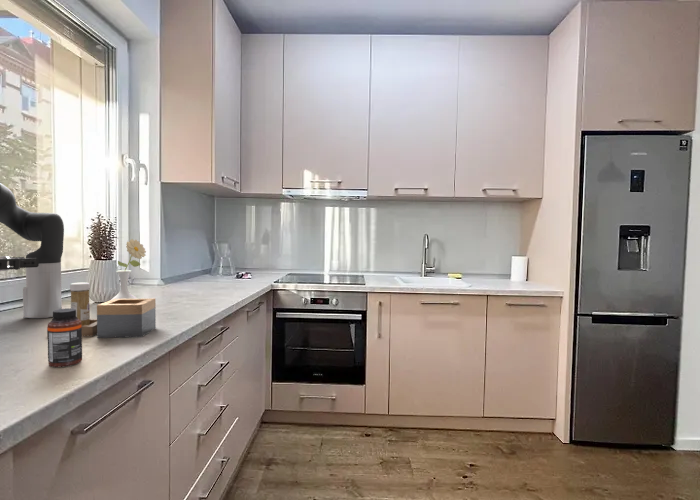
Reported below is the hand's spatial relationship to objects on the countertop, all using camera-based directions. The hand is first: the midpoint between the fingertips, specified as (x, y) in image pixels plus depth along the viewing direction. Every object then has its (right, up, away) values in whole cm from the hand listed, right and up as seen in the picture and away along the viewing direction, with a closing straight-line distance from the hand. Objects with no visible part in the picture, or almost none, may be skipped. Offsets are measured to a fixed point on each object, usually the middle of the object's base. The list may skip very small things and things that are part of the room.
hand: (31, 261), depth 107 cm
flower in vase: (+1, -18, +45) cm, 48 cm away
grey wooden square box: (+19, -20, +10) cm, 29 cm away
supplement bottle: (+21, -21, -18) cm, 35 cm away
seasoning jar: (+6, -20, +10) cm, 23 cm away
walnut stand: (+6, -19, +10) cm, 23 cm away
